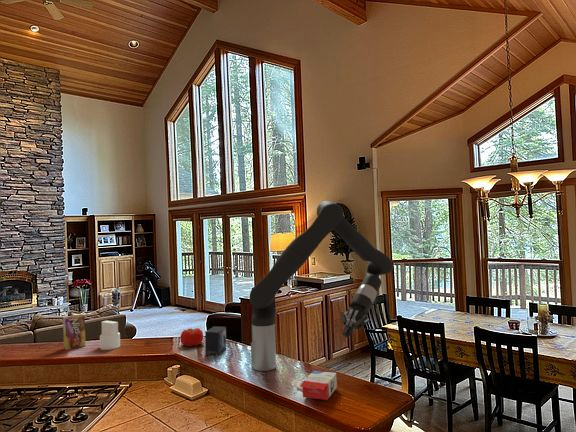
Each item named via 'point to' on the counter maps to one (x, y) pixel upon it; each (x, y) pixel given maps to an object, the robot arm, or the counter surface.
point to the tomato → (191, 337)
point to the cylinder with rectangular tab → (109, 335)
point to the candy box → (74, 331)
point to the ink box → (319, 385)
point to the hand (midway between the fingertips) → (345, 336)
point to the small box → (215, 341)
